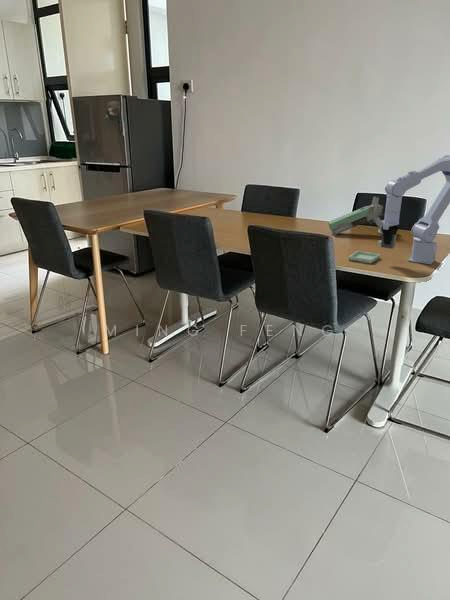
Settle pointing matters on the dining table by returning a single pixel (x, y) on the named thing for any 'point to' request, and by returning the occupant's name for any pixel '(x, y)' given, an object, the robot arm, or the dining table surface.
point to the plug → (392, 244)
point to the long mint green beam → (359, 218)
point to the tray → (364, 257)
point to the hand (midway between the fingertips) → (388, 243)
